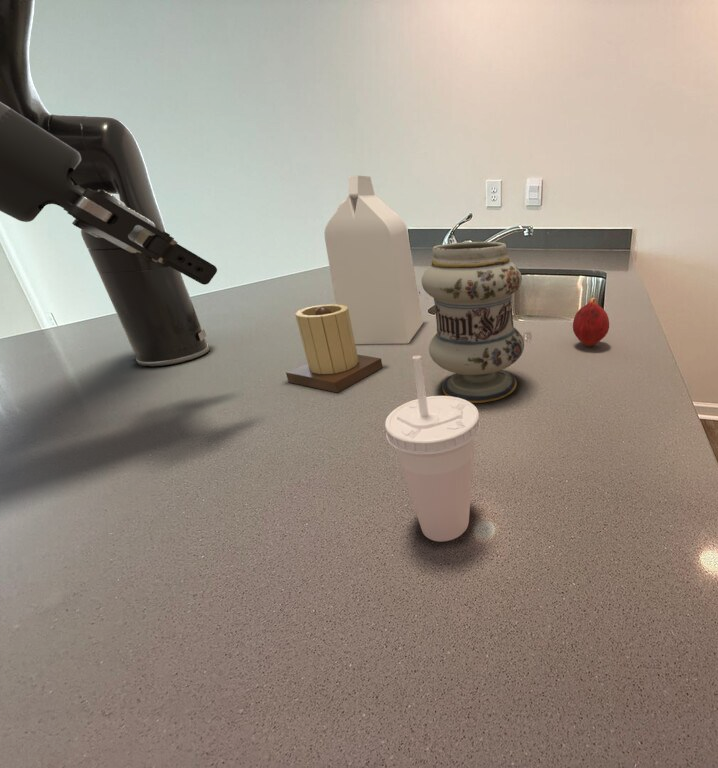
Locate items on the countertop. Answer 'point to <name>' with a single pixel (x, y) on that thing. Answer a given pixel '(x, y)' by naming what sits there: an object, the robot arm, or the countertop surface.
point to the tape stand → (335, 380)
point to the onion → (591, 323)
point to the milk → (373, 267)
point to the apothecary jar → (474, 318)
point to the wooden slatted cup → (327, 339)
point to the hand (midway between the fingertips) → (201, 272)
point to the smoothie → (436, 457)
